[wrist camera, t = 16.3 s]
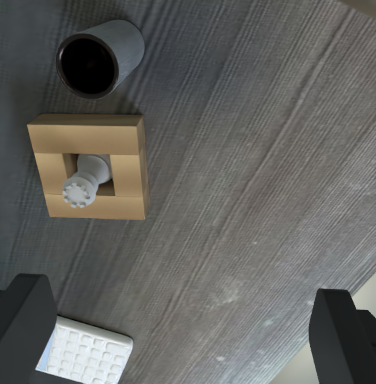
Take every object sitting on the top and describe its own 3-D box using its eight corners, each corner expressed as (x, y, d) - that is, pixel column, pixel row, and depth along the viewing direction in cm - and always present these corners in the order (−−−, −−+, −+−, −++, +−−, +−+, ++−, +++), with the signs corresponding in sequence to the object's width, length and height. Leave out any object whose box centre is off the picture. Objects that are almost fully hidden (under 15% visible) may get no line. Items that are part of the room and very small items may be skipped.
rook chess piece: (74, 145, 39) (44, 180, 33) (112, 138, 39) (89, 172, 32) (88, 180, 42) (63, 219, 35) (124, 174, 41) (105, 213, 34)
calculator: (116, 382, 62) (113, 393, 60) (1, 351, 60) (-5, 361, 58) (136, 337, 55) (133, 348, 54) (8, 299, 53) (1, 309, 52)
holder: (42, 113, 38) (26, 124, 35) (143, 114, 37) (136, 126, 34) (61, 200, 43) (49, 216, 40) (149, 203, 43) (144, 220, 40)
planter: (154, 56, 34) (131, 81, 25) (115, 78, 35) (81, 110, 27) (128, 9, 32) (93, 19, 23) (88, 35, 34) (41, 53, 25)
